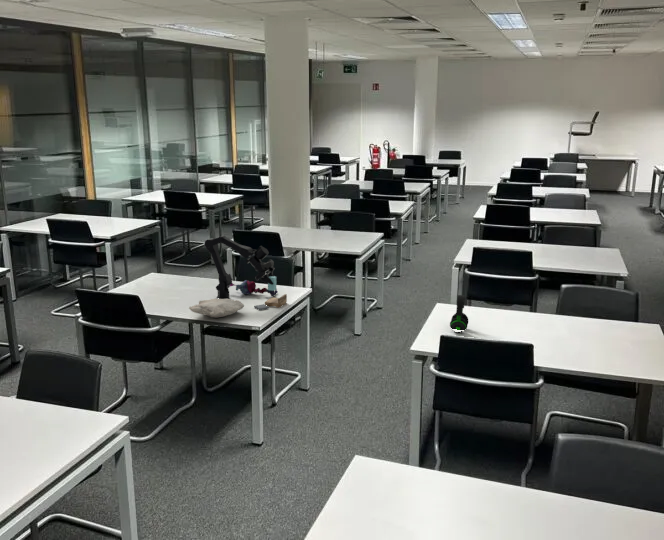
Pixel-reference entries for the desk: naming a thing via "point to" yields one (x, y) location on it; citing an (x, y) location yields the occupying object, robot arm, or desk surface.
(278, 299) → the tan piece
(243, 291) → the toy
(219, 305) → the decorative stone
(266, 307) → the gray block
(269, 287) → the teal block
